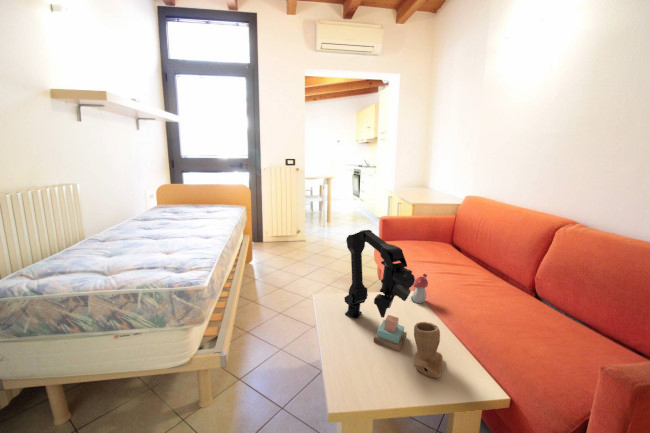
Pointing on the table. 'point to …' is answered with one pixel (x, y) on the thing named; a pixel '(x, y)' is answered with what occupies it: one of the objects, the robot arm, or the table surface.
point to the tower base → (389, 343)
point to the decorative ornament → (420, 289)
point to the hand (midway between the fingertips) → (385, 312)
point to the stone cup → (427, 349)
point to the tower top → (390, 333)
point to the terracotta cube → (391, 323)
